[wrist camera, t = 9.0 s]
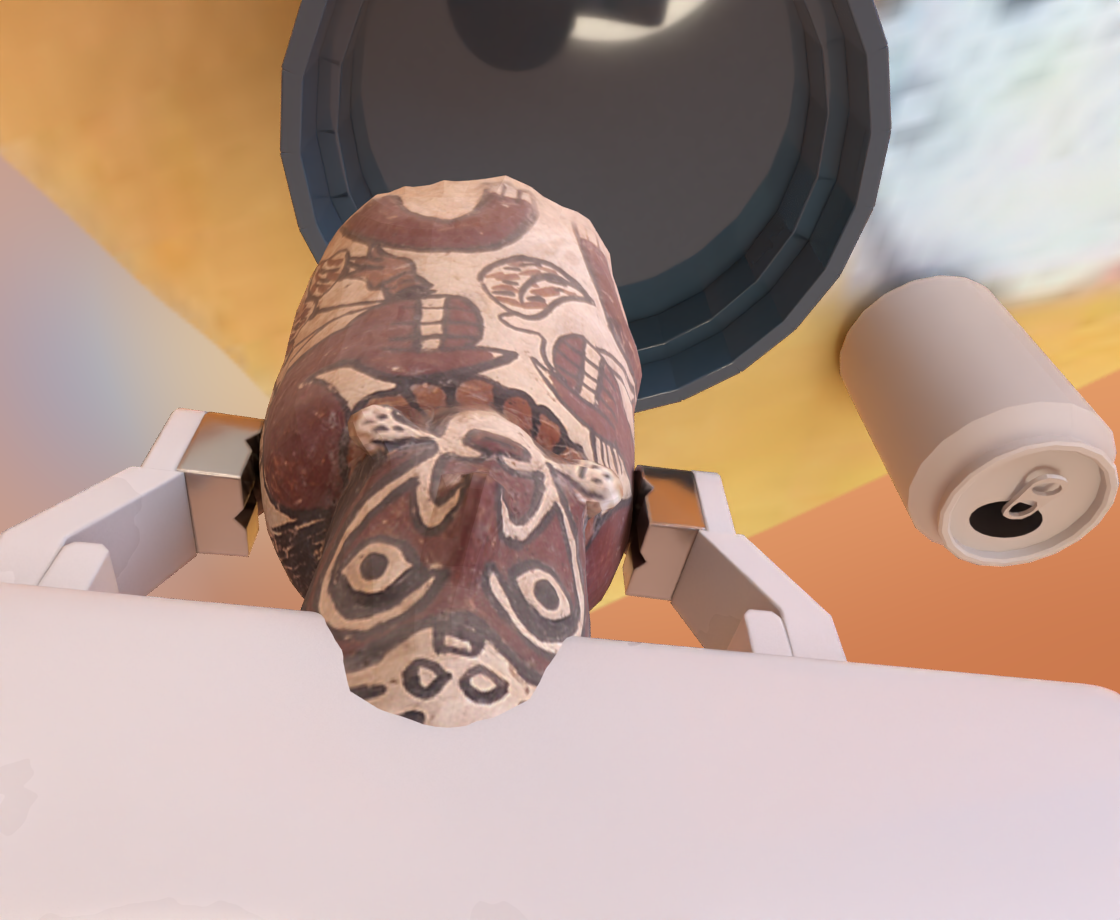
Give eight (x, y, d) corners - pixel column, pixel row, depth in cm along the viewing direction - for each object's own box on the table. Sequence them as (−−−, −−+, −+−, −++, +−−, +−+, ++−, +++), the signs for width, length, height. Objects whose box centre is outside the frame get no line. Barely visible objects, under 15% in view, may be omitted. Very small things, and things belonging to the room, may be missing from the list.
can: (807, 386, 41) (885, 565, 31) (882, 248, 36) (1000, 412, 27) (941, 415, 42) (1054, 595, 33) (1030, 286, 37) (1191, 454, 28)
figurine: (697, 270, 17) (874, 832, 8) (544, 492, 21) (547, 1039, 12) (374, 108, 15) (116, 630, 6) (271, 390, 19) (21, 964, 10)
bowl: (207, -77, 28) (148, -50, 24) (816, -314, 24) (874, -332, 20) (437, 393, 40) (425, 465, 36) (859, 281, 37) (900, 347, 33)
